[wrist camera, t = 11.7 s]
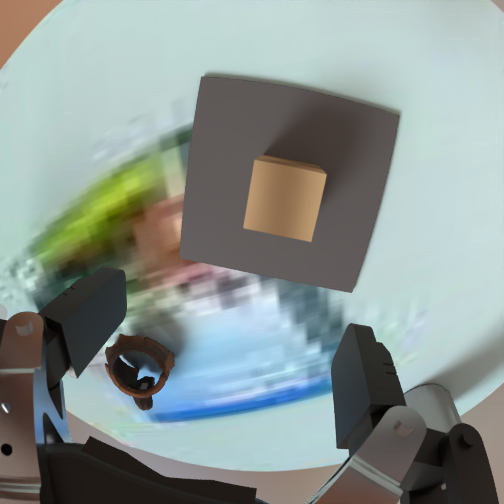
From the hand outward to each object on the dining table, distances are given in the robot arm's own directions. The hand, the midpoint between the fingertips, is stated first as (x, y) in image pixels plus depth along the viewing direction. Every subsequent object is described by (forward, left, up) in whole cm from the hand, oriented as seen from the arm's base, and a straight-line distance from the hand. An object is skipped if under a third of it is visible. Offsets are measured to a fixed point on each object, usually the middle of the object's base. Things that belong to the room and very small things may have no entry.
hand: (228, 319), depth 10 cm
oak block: (-1, -2, -18) cm, 18 cm away
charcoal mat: (-1, -2, -19) cm, 19 cm away
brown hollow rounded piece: (+13, +24, -19) cm, 33 cm away
